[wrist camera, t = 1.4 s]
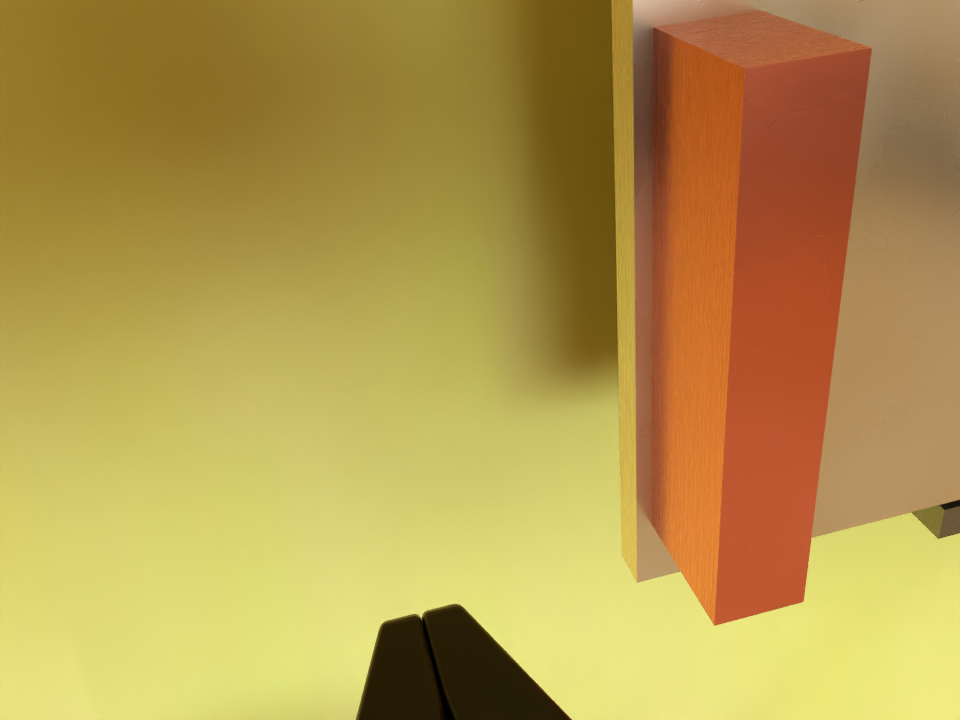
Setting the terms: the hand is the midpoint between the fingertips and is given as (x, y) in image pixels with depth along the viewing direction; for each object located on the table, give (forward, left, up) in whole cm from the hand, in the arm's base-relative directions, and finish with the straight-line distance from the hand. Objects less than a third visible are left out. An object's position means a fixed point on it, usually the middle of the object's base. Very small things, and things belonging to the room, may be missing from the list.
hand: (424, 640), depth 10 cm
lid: (-11, 0, -6) cm, 13 cm away
